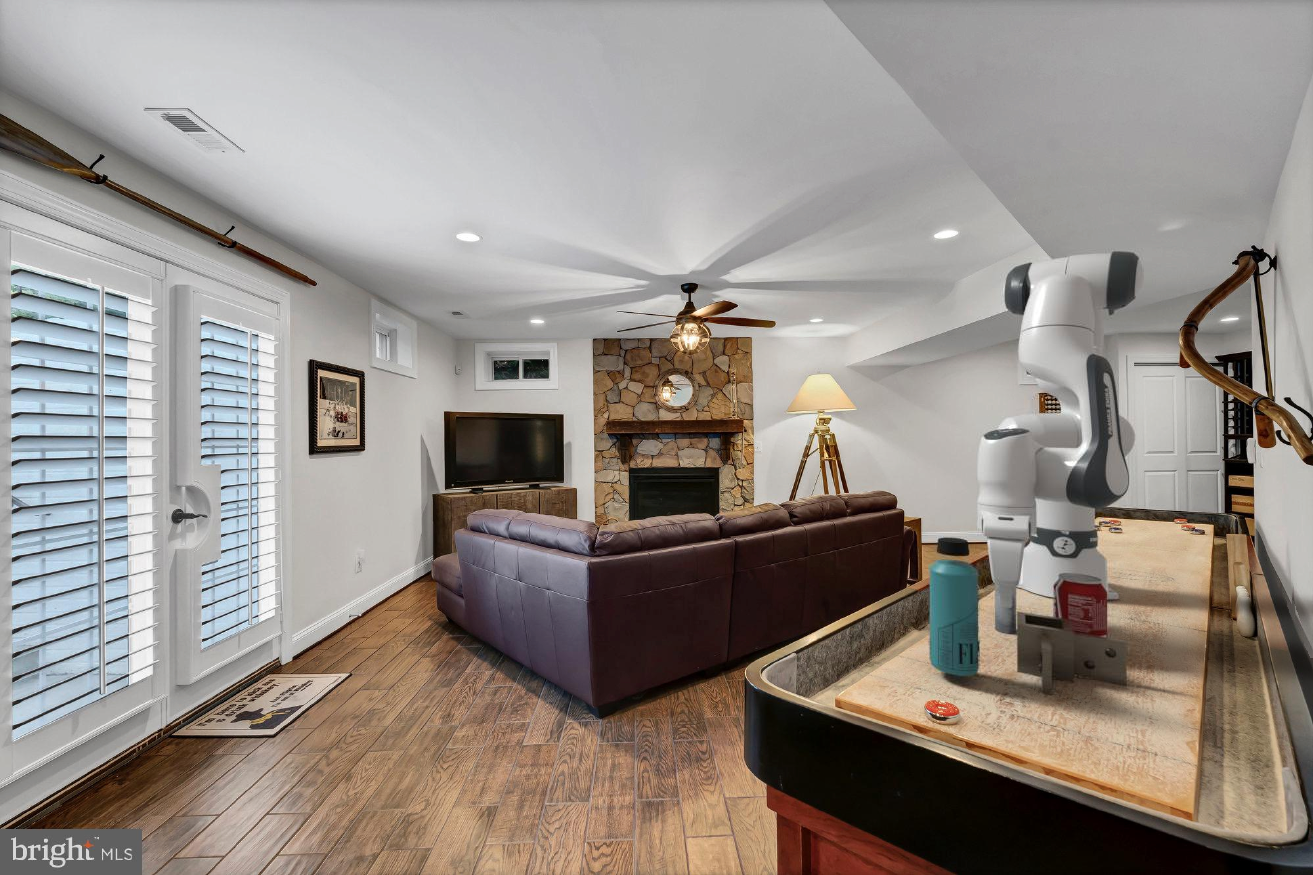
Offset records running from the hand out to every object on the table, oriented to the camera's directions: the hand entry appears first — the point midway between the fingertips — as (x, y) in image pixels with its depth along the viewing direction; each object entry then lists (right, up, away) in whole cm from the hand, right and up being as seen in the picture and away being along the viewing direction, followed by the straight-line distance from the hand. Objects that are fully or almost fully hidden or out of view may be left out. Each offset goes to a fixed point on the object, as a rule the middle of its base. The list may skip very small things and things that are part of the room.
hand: (1006, 598), depth 96 cm
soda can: (+6, -6, -9) cm, 12 cm away
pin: (0, -6, 0) cm, 6 cm away
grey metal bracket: (-3, -6, -19) cm, 20 cm away
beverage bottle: (-19, -6, -17) cm, 26 cm away
